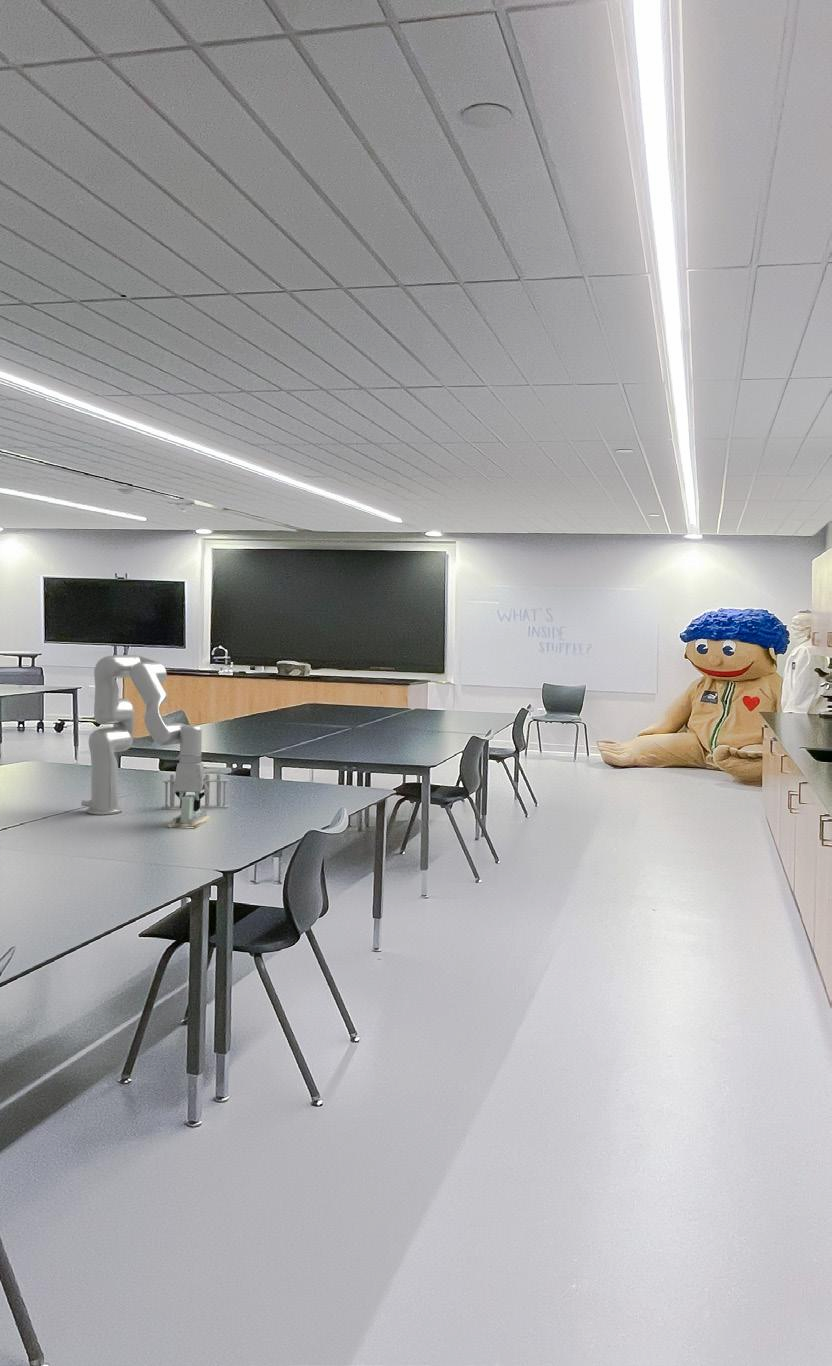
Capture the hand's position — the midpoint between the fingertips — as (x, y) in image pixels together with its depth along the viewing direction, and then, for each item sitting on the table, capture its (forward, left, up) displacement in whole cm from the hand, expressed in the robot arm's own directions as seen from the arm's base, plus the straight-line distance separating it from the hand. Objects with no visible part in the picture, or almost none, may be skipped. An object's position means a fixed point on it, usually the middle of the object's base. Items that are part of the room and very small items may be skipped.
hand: (190, 809), depth 355 cm
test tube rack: (-8, +30, -5) cm, 31 cm away
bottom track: (0, 0, -5) cm, 5 cm away
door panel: (0, 0, -4) cm, 4 cm away
